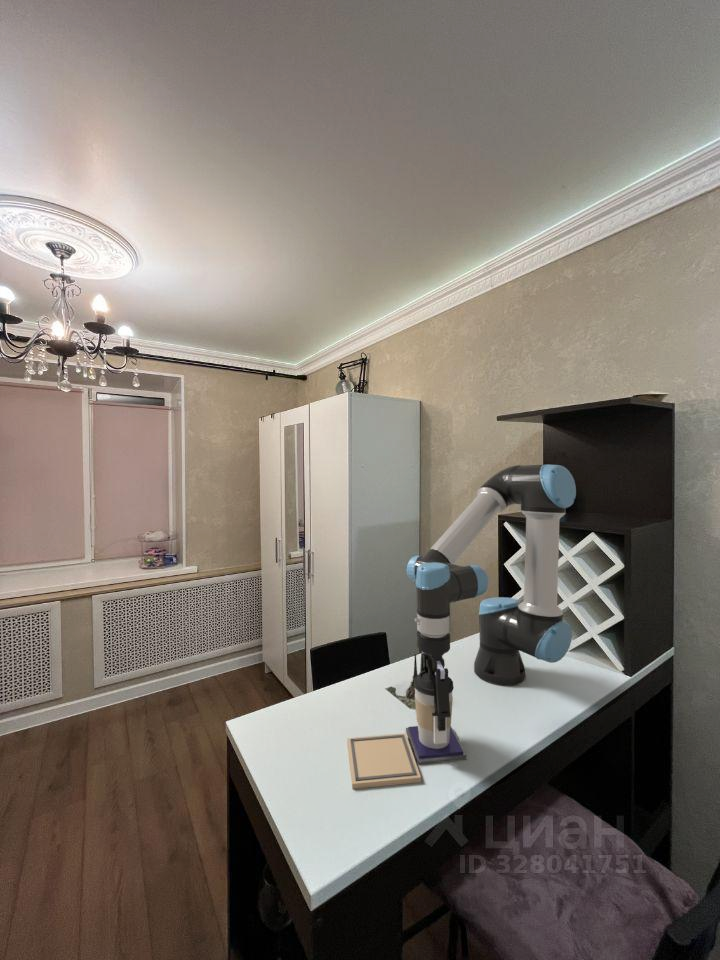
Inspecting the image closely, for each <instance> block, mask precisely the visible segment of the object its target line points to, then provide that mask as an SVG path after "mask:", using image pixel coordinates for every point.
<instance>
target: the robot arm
mask: <svg viewBox="0 0 720 960" xmlns="http://www.w3.org/2000/svg"><path fill="white" fill-rule="evenodd" d="M575 482H576V481H575V479H574V477H573V475H572V473H571V472H570V470H568V469H567V468H566V467H565V466H564V465H559V464H549V463H548V464H530V465H528V464H527V465H525V464H523V465H521V464H520V465H519V464H517V465H512V466H508V467H505V468H504V469H501V470H500V471H499V472H497V473H495V474H494V475H492V476H491V477H490V478H489V479H487V480H486V482H484V483H483V484H482V485H481V486H480V488H478V490H476V491H477V492H476V497H475V498H474V499H473V500H472V502H470V504H469V505H468V506H467V507H466V508H465V509H464V510H463V512H462V513H461V514H460V515H459V516H457V518H456V519H455V520H454V522H453V523H451V525H450V526H449V527H448V528H447V530H445V532H444V533H443V534H442V535H441V536H440V537H439V538H438V539H437V540H436V542H435V543H434V544H433V545H432V546H431V547H430V549H429V550H428V551H427V552H426V553H425V554H424V555H414V556H412V557H411V558H410V559H409V560H408V563H407V565H406V575H407V577H408V579H409V580H410V581H411V582H412V583H414V584H415V587H416V593H415V595H416V616H417V617H416V618H414V622H415V623H416V629H417V632H416V647H417V649H418V650H419V651H420V668H419V670H420V671H419V673H420V672H421V671H424V670H425V671H426V672H428V673H429V679H430V680H431V681H432V682H433V690H434V706H435V712H434V713H432V716H434V743H435V744H440V743H447V717H450V715H451V714H450V702H449V688H448V677H449V669H448V667H447V668H445V665H446V663H445V659H444V658H443V656H444V655H445V654H447V653H448V652H450V650H451V634H450V632H451V603H456V602H460V601H464V600H467V599H475V598H477V597H480V596H482V595H484V594H485V593H486V592H487V591H488V589H489V577H488V575H487V573H486V571H485V570H484V569H483V567H481V566H480V565H477V564H476V565H475V564H473V565H472V564H471V565H470V564H467V565H464V566H463V565H457V564H455V563H457V562H458V560H459V559H460V558H461V556H463V554H464V553H465V552H466V550H467V549H469V547H470V546H471V545H472V543H474V541H476V539H477V538H478V537H479V535H480V534H481V533H482V532H483V530H484V529H485V528H486V527H487V526H488V525H489V523H490V522H491V521H492V520H493V518H495V517H496V515H497V514H499V513H503V512H504V511H505V510H506V509H507V508H508V507H509V506H512V505H520V512H521V513H522V514H523V515H524V517H525V547H524V548H525V551H524V553H525V554H524V555H525V556H524V583H523V584H524V587H523V601H522V602H519V601H518V600H517V598H513V597H507V596H506V597H504V596H502V597H501V596H499V597H497V596H496V597H490V598H485V599H483V600H481V602H480V604H479V612H478V622H479V627H478V631H479V647H478V651H477V654H476V656H475V658H474V659H475V660H474V663H473V671H474V674H475V675H476V676H477V677H478V679H481V680H483V681H485V682H487V683H490V684H494V685H497V686H507V687H508V686H510V687H511V686H517V685H519V684H521V683H523V682H525V680H526V667H525V665H524V662H523V658H522V655H521V653H520V652H522V653H525V654H527V655H528V656H530V657H533V658H536V659H537V660H539V661H545V662H547V663H550V664H553V663H557V662H559V661H561V660H562V659H563V658H564V657H565V656H566V654H567V652H568V651H569V650H570V647H571V644H572V641H573V630H572V628H571V625H570V624H569V623H568V622H567V621H566V620H565V621H564V612H563V610H562V609H561V608H560V606H559V605H558V592H559V591H558V589H559V587H558V586H559V585H558V583H559V555H560V554H559V550H560V519H561V518H563V517H564V516H565V515H566V513H567V508H569V507H570V508H571V506H572V505H573V504H574V502H575V500H576V496H577V488H576V483H575ZM432 675H436V677H433V676H432Z"/></svg>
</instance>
